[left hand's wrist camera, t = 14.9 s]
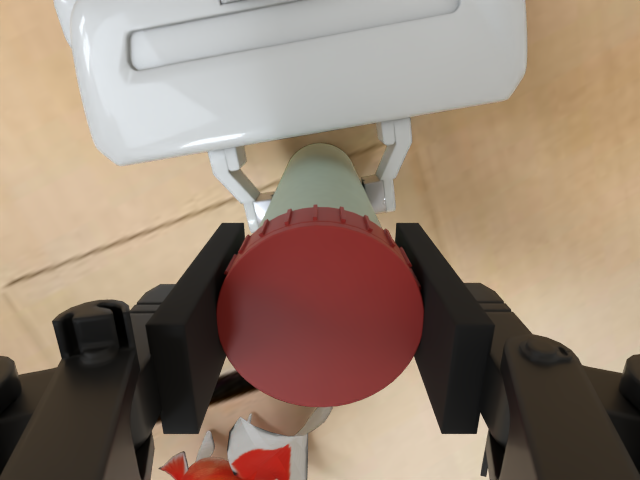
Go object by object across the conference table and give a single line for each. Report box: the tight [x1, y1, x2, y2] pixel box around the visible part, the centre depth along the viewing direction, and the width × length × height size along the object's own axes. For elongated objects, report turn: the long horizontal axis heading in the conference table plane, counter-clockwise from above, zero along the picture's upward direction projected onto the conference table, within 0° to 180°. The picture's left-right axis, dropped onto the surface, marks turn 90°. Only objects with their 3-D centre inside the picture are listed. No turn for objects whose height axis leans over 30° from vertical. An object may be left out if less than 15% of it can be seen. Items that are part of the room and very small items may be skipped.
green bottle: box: [259, 143, 382, 228], centre depth 19 cm, size 5×5×18 cm
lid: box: [216, 204, 424, 407], centre depth 11 cm, size 5×5×2 cm
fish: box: [159, 407, 332, 480], centre depth 31 cm, size 11×16×10 cm
